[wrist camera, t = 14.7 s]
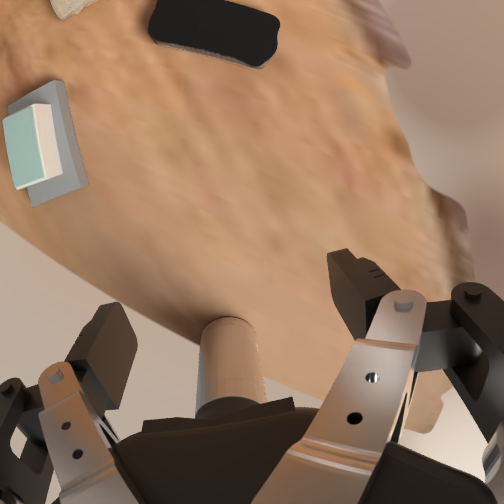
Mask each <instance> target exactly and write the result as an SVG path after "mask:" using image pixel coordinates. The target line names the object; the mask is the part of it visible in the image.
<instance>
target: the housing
mask: <svg viewBox="0 0 504 504" xmlns="http://www.w3.org/2000/svg"><path fill="white" fill-rule="evenodd" d="M2 122H3V129H4V136H5V142H6V148H7V154H8V159H9V164H10V169H11V174H12V179H13V183H14V188H16V189H17V190H19V189H21V188H24V187H27V186H30V185H33V184H35V183H38V182H41V181H44V180H47V179H50V178H53V177H55V176H58V175H61V174H63V172H62V167H61V162H60V157H59V152H58V147H57V142H56V136H55V130H54V124H53V117H52V110H51V104H32V105H30V106H28V107H26V108H24V109H22V110H19V111H17V112H15V113H13V114H11V115H9V116H7V117H5V118H4V120H2Z"/></svg>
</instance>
